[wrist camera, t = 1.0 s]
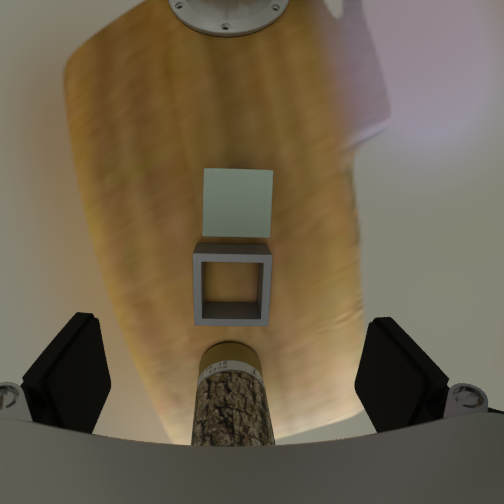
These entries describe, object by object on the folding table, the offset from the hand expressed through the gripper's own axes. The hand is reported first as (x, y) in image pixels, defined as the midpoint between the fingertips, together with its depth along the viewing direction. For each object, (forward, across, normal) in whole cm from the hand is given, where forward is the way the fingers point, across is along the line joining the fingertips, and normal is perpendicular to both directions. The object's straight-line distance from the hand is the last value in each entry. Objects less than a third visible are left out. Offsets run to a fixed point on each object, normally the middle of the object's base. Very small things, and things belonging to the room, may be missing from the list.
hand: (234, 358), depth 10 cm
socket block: (+22, 0, +5) cm, 22 cm away
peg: (+22, 0, -4) cm, 22 cm away
